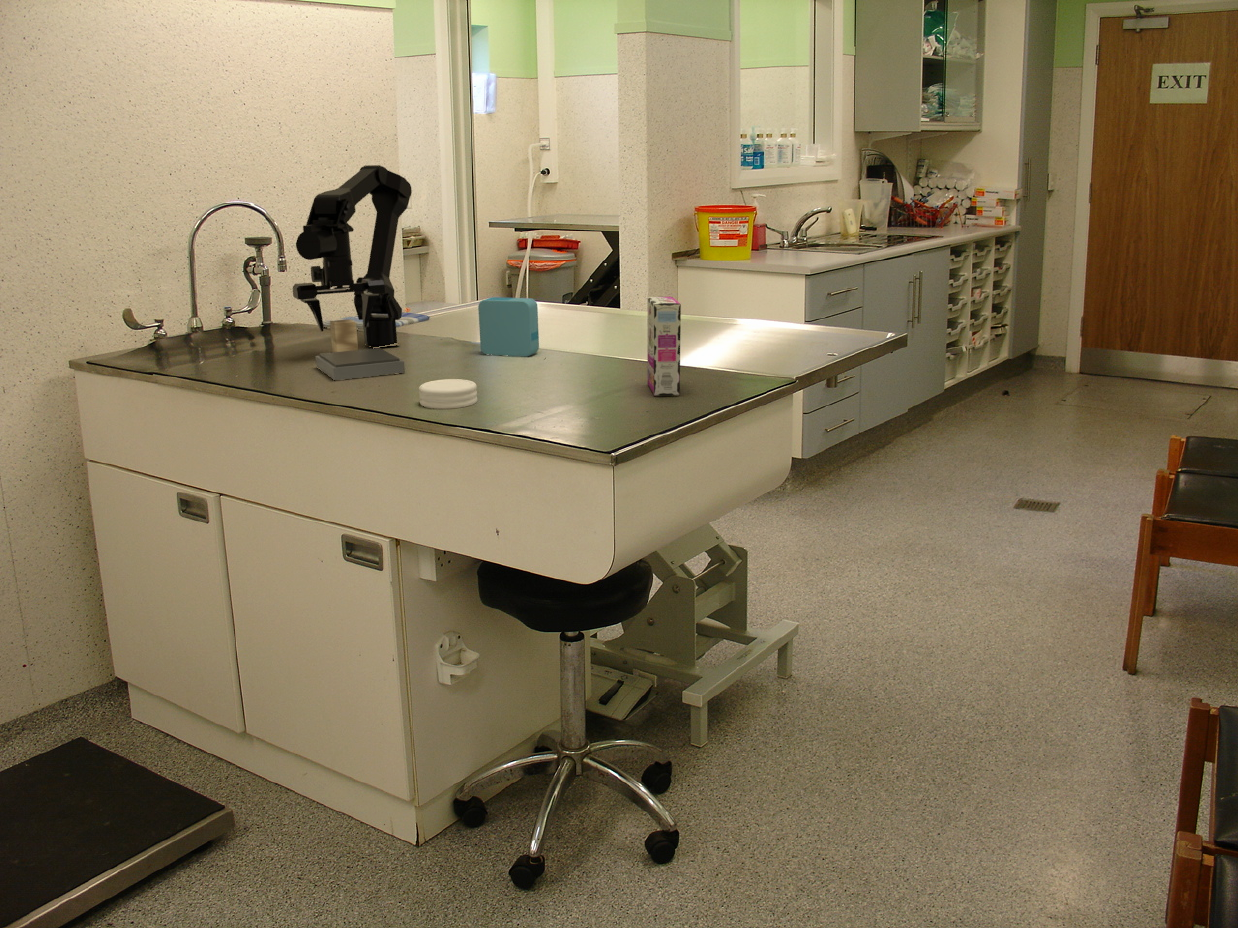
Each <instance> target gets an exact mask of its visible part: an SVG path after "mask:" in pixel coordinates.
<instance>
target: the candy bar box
mask: <svg viewBox="0 0 1238 928" xmlns="http://www.w3.org/2000/svg"><path fill="white" fill-rule="evenodd" d="M681 306H682V304H681V302H679V301H678V300H676V298H674V297H673V296H648V297H647V347H646V348H647V386H648V388H649V389H650V391H651V393H652V395H653V396H654V397H676V396H677V397H678V396H681V327H682V326H681V323H682V322H681V317H682V316H681V315H682V311H681V310H682V307H681Z"/></svg>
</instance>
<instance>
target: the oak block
mask: <svg viewBox="0 0 1238 928" xmlns="http://www.w3.org/2000/svg"><path fill="white" fill-rule="evenodd" d="M335 320H336V321H332V320H331V321H330V329H329V330H330V341H331V350H332V351H331V353H332V352H343V351H353V350H359V347H358V334H357V333H358V331H357V330H356V322H355V321H353V320H351V319H349V320H337V319H335Z"/></svg>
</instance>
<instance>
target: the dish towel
mask: <svg viewBox="0 0 1238 928" xmlns="http://www.w3.org/2000/svg"><path fill="white" fill-rule="evenodd" d="M380 315H388V314H380ZM430 318H431V317H430V316H429V315H426V314H422V313H414V312H405V311H404V312H403V311H402V316H401V318H400V320H396V328H399V327H403V326H407V325H408V326H409V325H412V324H417V323H422V322H427V321H429V320H430ZM349 319H351V320H353V321H355V322H356V328H358V329H363V320H359V318H358V315H355V316H347V317H342V318H338V319H337V318H336V319H333V320H331V319H325V320H323V328H324V327H330V321H336V320H349Z"/></svg>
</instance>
